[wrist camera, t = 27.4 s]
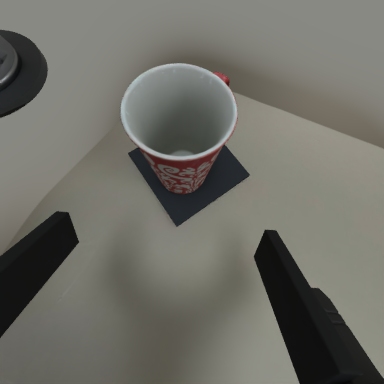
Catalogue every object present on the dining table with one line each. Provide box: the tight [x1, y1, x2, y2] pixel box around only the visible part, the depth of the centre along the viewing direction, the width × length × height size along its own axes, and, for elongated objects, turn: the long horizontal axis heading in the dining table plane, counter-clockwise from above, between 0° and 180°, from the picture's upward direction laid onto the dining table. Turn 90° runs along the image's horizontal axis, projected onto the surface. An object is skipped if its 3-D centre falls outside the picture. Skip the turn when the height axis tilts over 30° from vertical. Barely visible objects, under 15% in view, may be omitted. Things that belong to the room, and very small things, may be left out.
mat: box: [128, 144, 250, 226], centre depth 26 cm, size 14×14×1 cm
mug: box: [120, 63, 238, 194], centre depth 19 cm, size 13×9×14 cm
